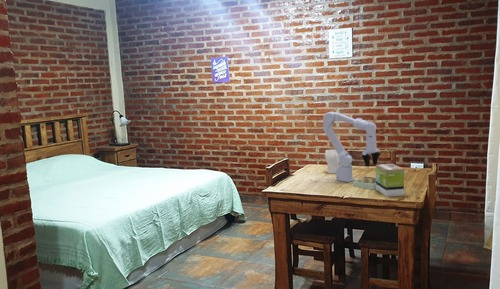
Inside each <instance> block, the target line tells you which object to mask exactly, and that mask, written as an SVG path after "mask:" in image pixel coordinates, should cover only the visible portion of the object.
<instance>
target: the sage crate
mask: <svg viewBox="0 0 500 289" xmlns="http://www.w3.org/2000/svg"><path fill="white" fill-rule="evenodd" d="M352 184H353V187H354V188H355V187H357V188H362V189H366V190H372V191H373V190H376V183H375V184H368V183H363V182H361V178H360V179H355V180H354V181H352Z"/></svg>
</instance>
